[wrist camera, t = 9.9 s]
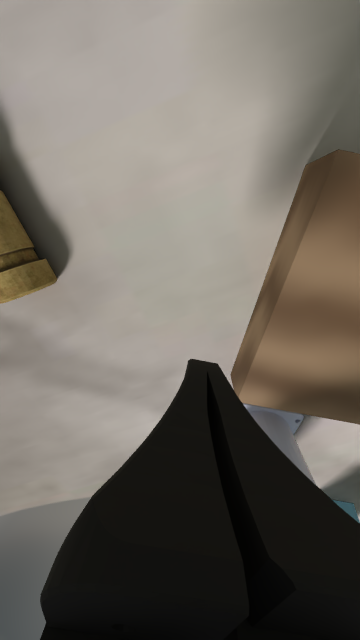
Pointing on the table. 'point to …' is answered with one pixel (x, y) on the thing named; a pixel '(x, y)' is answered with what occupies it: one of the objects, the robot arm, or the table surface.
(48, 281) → the gavel
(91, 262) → the table surface
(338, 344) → the board
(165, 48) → the table surface
